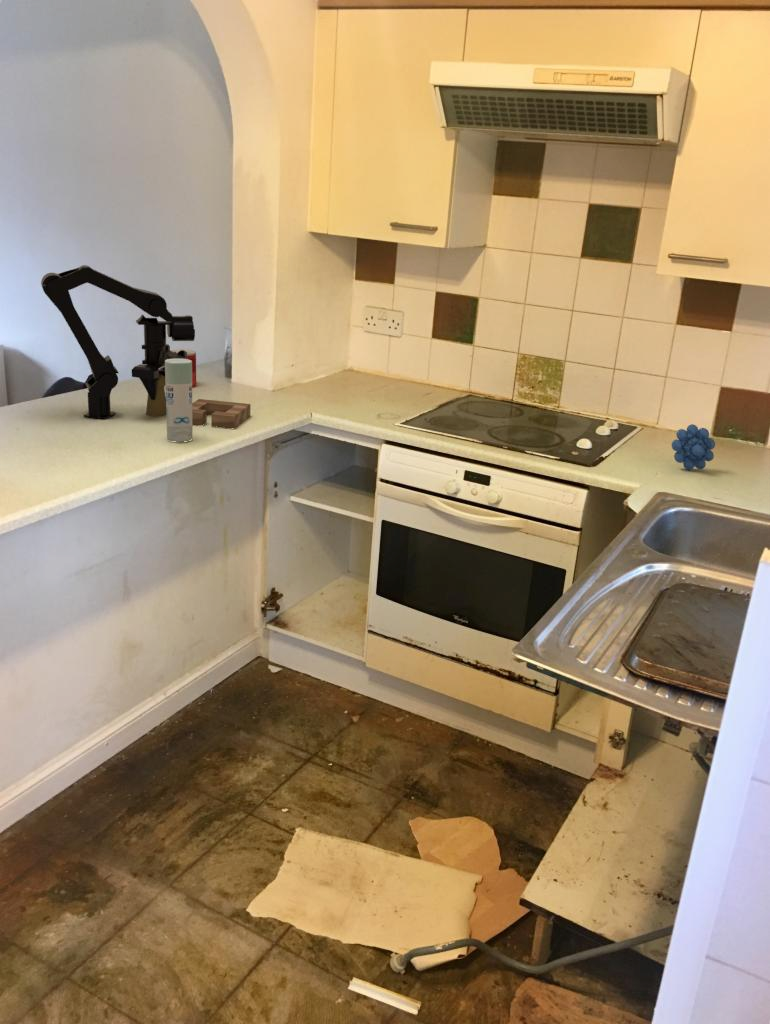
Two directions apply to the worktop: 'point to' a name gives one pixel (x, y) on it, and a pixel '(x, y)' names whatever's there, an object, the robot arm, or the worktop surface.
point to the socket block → (220, 413)
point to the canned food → (192, 356)
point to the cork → (157, 400)
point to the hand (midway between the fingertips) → (156, 397)
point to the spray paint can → (178, 399)
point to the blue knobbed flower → (693, 447)
